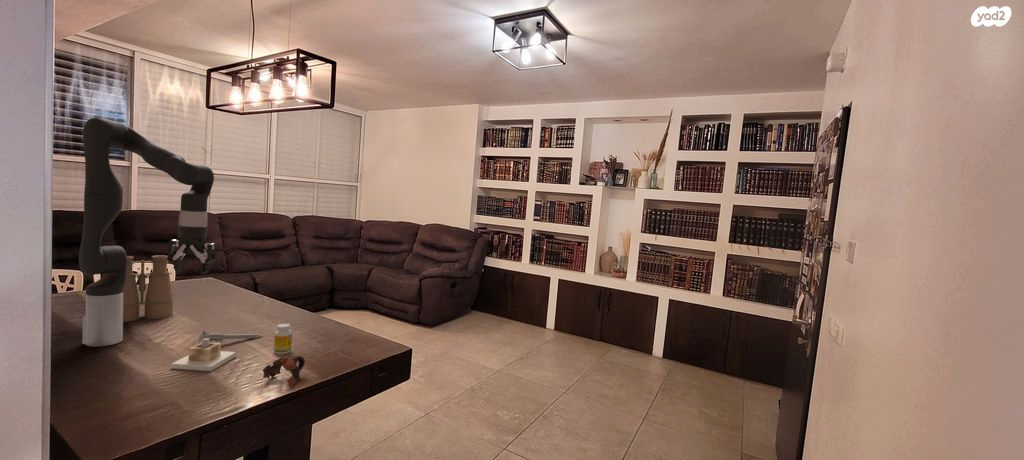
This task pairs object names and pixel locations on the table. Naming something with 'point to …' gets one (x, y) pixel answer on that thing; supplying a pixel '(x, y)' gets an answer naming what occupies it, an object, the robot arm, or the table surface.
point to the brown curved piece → (288, 365)
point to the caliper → (226, 336)
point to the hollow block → (204, 352)
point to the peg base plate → (204, 366)
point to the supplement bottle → (283, 339)
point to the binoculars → (148, 290)
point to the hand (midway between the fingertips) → (191, 272)
